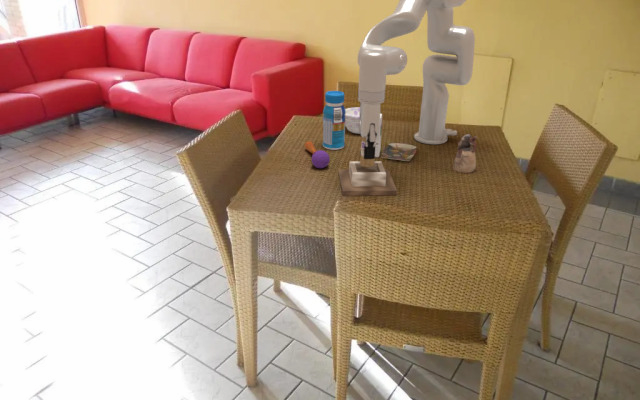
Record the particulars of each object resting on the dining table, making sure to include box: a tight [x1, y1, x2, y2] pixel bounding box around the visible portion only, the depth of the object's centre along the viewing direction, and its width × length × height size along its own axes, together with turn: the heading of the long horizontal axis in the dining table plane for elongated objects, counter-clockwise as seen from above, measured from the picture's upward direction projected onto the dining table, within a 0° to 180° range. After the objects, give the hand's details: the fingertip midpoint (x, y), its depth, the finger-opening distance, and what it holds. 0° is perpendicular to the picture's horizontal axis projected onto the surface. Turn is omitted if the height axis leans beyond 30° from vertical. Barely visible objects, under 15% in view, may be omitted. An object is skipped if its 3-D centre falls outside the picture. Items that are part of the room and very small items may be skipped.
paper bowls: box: [345, 106, 361, 135], centre depth 194 cm, size 15×15×8 cm
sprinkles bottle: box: [359, 134, 376, 167], centre depth 144 cm, size 5×5×14 cm
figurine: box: [452, 133, 478, 174], centre depth 158 cm, size 7×7×12 cm
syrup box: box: [375, 112, 383, 158], centre depth 169 cm, size 6×6×14 cm
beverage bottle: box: [322, 90, 346, 151], centre depth 174 cm, size 8×8×20 cm
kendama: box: [304, 140, 331, 169], centre depth 167 cm, size 6×6×20 cm
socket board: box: [338, 160, 398, 197], centre depth 149 cm, size 16×16×6 cm
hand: (368, 154), depth 145 cm, fingers closed on sprinkles bottle, 4 cm apart
